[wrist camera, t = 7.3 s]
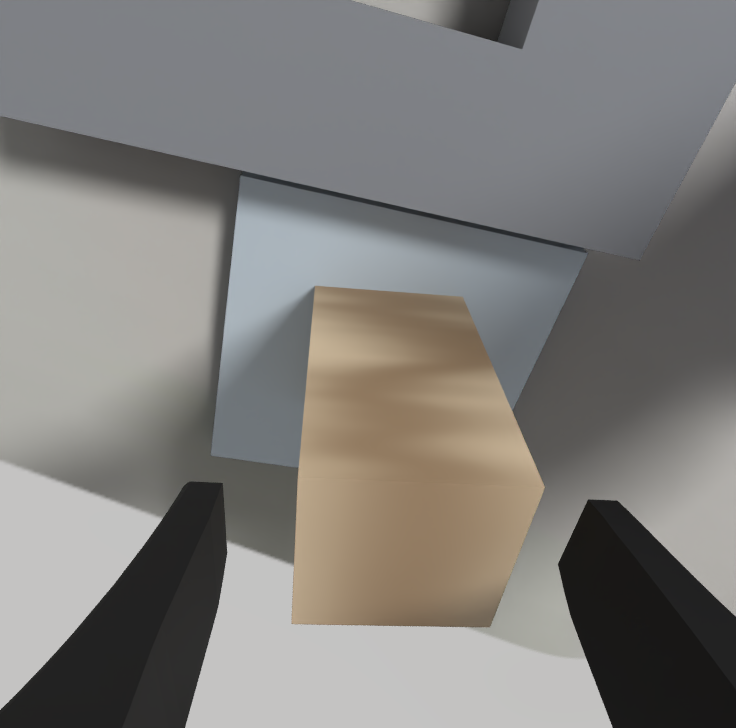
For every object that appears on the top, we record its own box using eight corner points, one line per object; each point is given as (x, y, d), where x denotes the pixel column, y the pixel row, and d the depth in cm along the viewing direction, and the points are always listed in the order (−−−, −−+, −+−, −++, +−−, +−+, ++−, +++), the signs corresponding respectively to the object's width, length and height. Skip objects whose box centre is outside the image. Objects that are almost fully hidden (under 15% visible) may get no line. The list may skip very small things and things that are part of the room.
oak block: (462, 296, 15) (544, 487, 9) (437, 412, 17) (489, 627, 11) (315, 285, 14) (298, 476, 8) (308, 405, 16) (291, 623, 11)
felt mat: (579, 245, 15) (588, 253, 14) (469, 479, 19) (473, 492, 19) (244, 169, 13) (240, 175, 13) (214, 443, 18) (210, 455, 17)
